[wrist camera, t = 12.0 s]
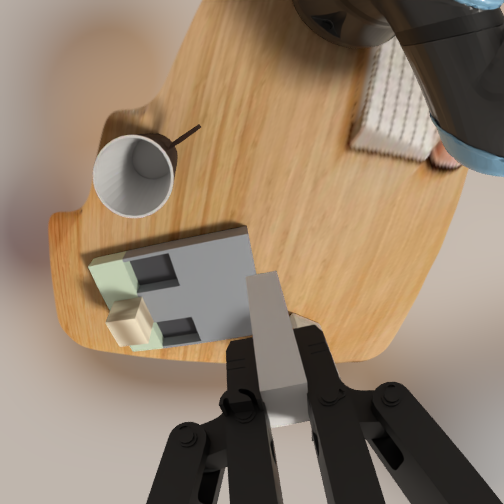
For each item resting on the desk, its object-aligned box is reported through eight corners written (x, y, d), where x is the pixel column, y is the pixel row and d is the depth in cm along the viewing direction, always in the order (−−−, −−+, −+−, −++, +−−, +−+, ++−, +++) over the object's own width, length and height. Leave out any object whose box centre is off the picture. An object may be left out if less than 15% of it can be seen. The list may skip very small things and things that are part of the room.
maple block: (142, 296, 43) (135, 318, 39) (153, 321, 46) (148, 343, 41) (114, 301, 43) (105, 322, 39) (126, 325, 46) (119, 346, 41)
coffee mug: (130, 194, 38) (105, 224, 29) (116, 133, 34) (84, 146, 25) (214, 179, 38) (211, 206, 30) (204, 114, 34) (196, 119, 25)
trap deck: (246, 225, 42) (248, 233, 40) (265, 322, 51) (267, 332, 49) (93, 258, 42) (88, 266, 40) (135, 341, 51) (133, 351, 49)
